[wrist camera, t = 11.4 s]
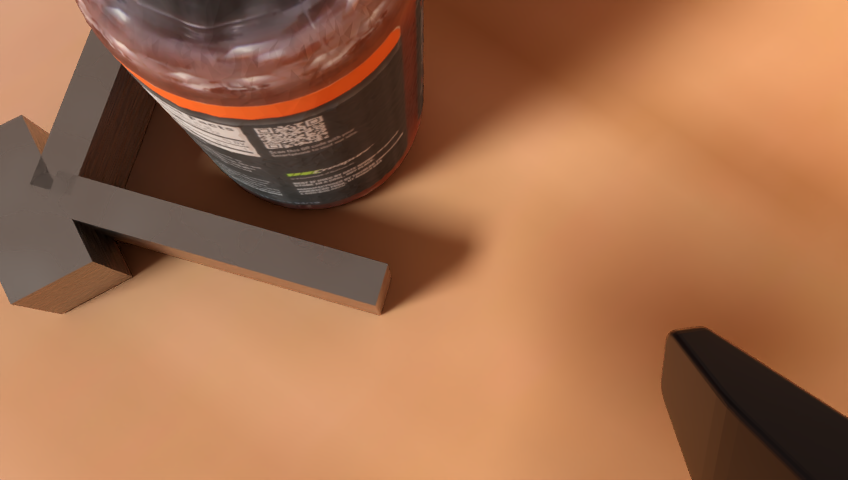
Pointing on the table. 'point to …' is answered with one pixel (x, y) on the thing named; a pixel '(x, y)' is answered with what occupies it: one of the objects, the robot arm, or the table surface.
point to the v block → (132, 209)
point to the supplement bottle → (280, 86)
